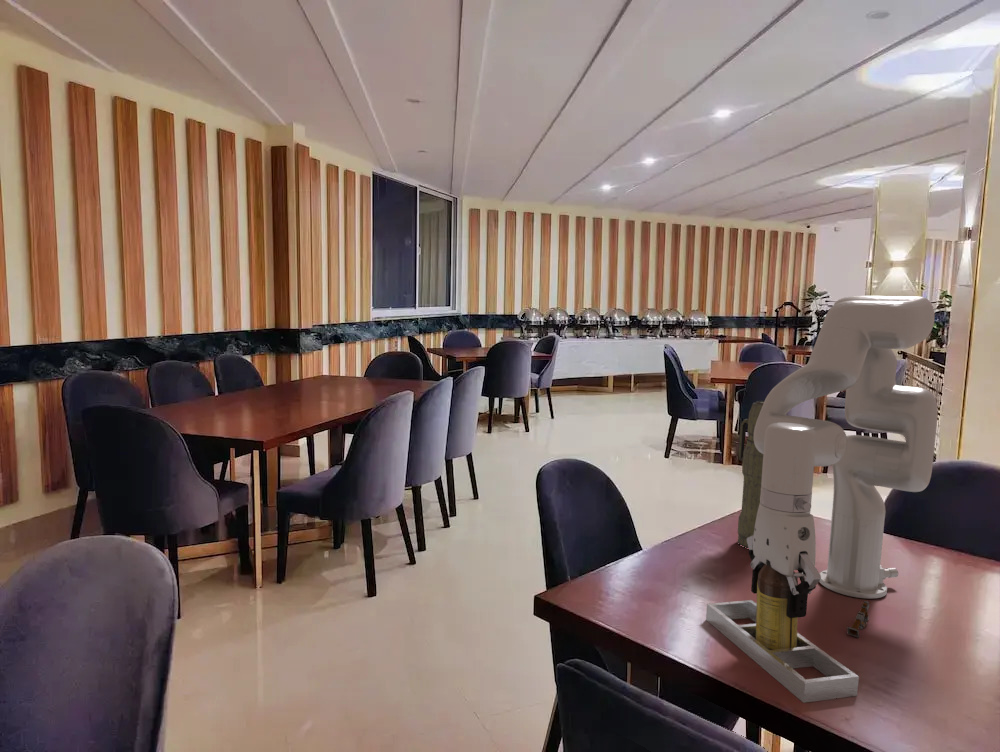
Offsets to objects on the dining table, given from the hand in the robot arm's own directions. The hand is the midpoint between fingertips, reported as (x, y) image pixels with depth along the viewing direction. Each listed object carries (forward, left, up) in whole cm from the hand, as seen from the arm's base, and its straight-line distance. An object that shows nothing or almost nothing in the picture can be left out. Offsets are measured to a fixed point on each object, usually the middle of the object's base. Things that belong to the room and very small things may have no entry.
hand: (777, 603), depth 108 cm
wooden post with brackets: (-21, -5, -9) cm, 23 cm away
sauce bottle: (0, 0, -9) cm, 9 cm away
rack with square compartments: (0, 0, -9) cm, 9 cm away
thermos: (-29, -46, -9) cm, 55 cm away
